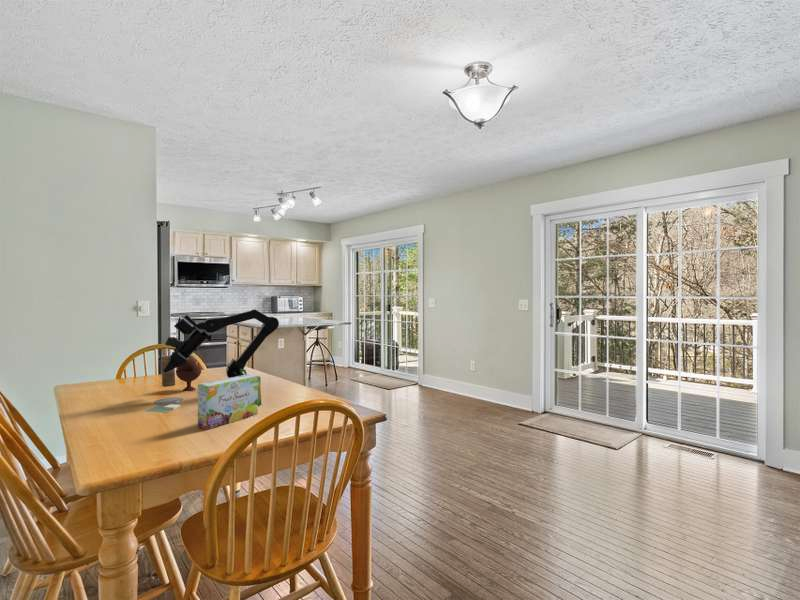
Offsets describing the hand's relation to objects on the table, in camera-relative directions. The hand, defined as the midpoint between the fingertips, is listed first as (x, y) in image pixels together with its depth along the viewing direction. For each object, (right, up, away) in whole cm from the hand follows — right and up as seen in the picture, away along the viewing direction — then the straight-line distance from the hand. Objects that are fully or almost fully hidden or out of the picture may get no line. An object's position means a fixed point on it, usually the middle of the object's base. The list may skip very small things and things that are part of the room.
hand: (164, 370), depth 180 cm
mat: (+5, -13, -10) cm, 18 cm away
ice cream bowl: (-1, -13, +22) cm, 25 cm away
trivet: (+1, -13, +1) cm, 13 cm away
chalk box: (+35, -13, -4) cm, 38 cm away
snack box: (+37, -14, -25) cm, 46 cm away
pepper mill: (+1, -6, +1) cm, 6 cm away
